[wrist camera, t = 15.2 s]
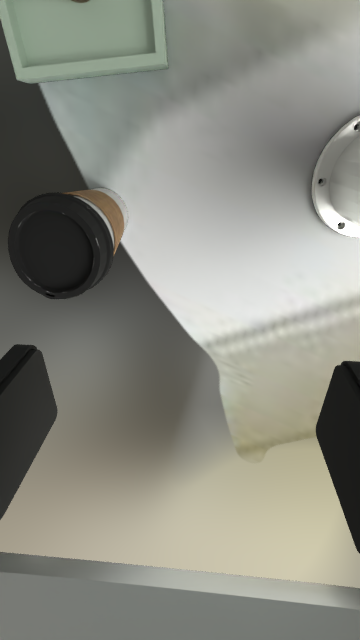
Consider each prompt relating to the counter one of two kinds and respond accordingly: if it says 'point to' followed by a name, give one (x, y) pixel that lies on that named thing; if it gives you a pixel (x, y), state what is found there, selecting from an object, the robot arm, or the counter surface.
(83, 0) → the walnut dowel
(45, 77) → the sage tray
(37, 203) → the coffee cup
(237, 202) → the counter surface
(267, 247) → the counter surface
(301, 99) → the counter surface
